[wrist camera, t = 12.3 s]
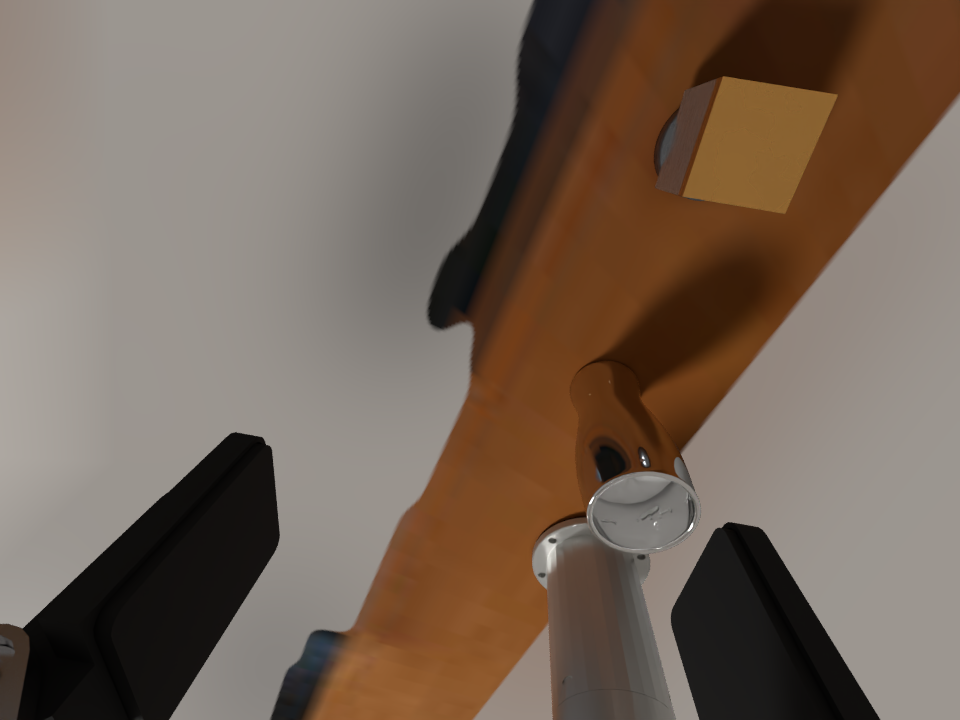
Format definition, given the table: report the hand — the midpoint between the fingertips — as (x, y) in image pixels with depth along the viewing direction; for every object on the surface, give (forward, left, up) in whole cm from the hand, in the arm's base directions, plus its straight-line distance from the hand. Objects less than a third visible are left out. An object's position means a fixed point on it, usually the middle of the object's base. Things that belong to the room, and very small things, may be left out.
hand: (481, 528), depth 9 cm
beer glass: (-11, -10, -28) cm, 32 cm away
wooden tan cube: (+9, -11, -26) cm, 30 cm away
